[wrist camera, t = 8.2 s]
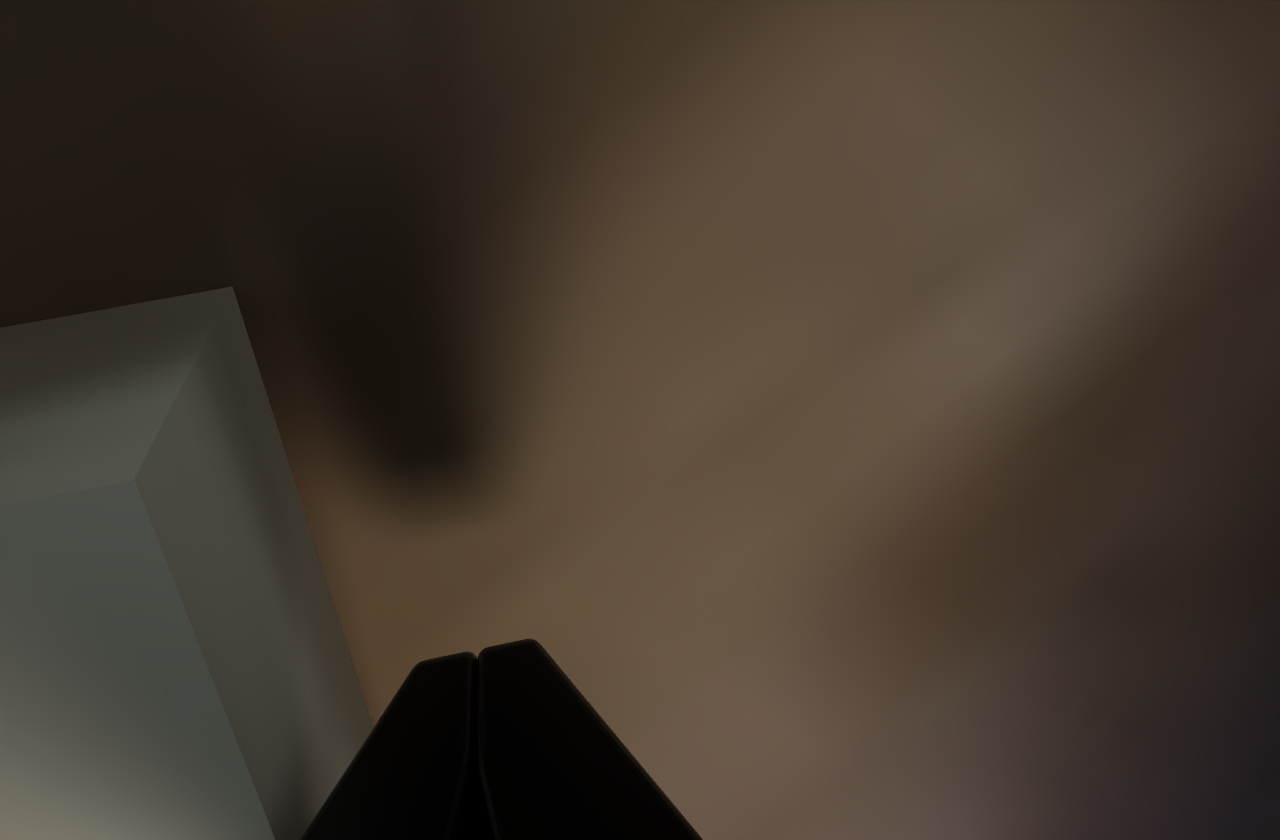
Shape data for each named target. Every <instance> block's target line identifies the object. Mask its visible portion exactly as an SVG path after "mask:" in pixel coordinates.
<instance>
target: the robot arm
mask: <svg viewBox="0 0 1280 840" xmlns="http://www.w3.org/2000/svg"><path fill="white" fill-rule="evenodd" d="M300 840H703V839H702V838H701V837H700V835H699V834H698V833H697V832H696V831H695V829H694V828H693V827H692V826H691V825H690V823H689V822H688V821H687V820H686V819H685V817H684V816H683V815H682V814H681V813H680V811H679V810H678V809H677V808H676V807H675V805H674V804H673V803H672V802H671V801H670V799H669V798H668V797H667V796H666V795H665V793H664V792H663V791H662V790H661V789H660V787H659V786H658V785H657V784H656V783H655V781H654V780H653V779H652V778H651V777H650V775H649V774H648V773H647V772H646V771H645V769H644V768H643V767H642V766H641V765H640V763H639V762H638V761H637V760H636V759H635V757H634V756H633V755H632V754H631V753H630V751H629V750H628V749H627V748H626V747H625V745H624V744H623V743H622V742H621V741H620V739H619V738H618V737H617V736H616V734H615V733H614V732H613V731H612V730H611V728H610V727H609V726H608V725H607V724H606V722H605V721H604V720H603V719H602V718H601V716H600V715H599V714H598V713H597V712H596V710H595V709H594V708H593V707H592V706H591V704H590V703H589V702H588V701H587V700H586V698H585V697H584V696H583V695H582V694H581V692H580V691H579V690H578V689H577V688H576V686H575V685H574V684H573V683H572V682H571V680H570V679H569V678H568V677H567V676H566V674H565V673H564V672H563V671H562V670H561V668H560V667H559V666H558V665H557V664H556V662H555V661H554V660H553V659H552V658H551V656H550V655H549V654H548V653H547V652H546V650H545V649H544V648H543V647H542V646H541V644H540V643H538V642H537V641H536V640H533V639H524V640H520V641H515V642H510V643H505V644H500V645H496V646H491V647H487V648H484V649H483V650H482V651H481V652H480V653H479V656H478V658H477V657H476V656H475V655H474V654H473V653H471V652H462V653H457V654H452V655H448V656H443V657H438V658H433V659H428V660H424V661H421V662H419V663H418V664H417V665H416V666H415V667H414V668H413V669H412V670H411V672H410V673H409V675H408V676H407V678H406V680H405V681H404V683H403V684H402V686H401V687H400V689H399V690H398V692H397V693H396V695H395V696H394V698H393V699H392V701H391V702H390V704H389V705H388V707H387V708H386V710H385V711H384V713H383V714H382V716H381V717H380V719H379V720H378V722H377V723H376V725H375V727H374V728H373V730H372V731H371V733H370V734H369V736H368V737H367V739H366V740H365V742H364V743H363V745H362V746H361V748H360V749H359V751H358V752H357V754H356V755H355V757H354V758H353V760H352V761H351V763H350V764H349V766H348V767H347V769H346V771H345V772H344V774H343V775H342V777H341V778H340V780H339V781H338V783H337V784H336V786H335V787H334V789H333V790H332V792H331V793H330V795H329V796H328V798H327V799H326V801H325V802H324V804H323V805H322V807H321V808H320V810H319V811H318V813H317V815H316V816H315V818H314V819H313V821H312V822H311V824H310V825H309V827H308V828H307V830H306V831H305V833H304V834H303V836H302V837H301V839H300Z"/></svg>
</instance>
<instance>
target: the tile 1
mask: <svg viewBox="0 0 1280 840" xmlns="http://www.w3.org/2000/svg"><path fill="white" fill-rule="evenodd" d="M372 730H373V726H372V723H371V720H370V717H369V713H368V710H367V707H366V704H365V701H364V698H363V695H362V691H361V688H360V685H359V682H358V679H357V676H356V673H355V669H354V666H353V663H352V660H351V657H350V654H349V651H348V648H347V644H346V641H345V638H344V635H343V632H342V629H341V626H340V622H339V619H338V616H337V613H336V610H335V607H334V604H333V600H332V597H331V594H330V591H329V588H328V585H327V582H326V578H325V575H324V572H323V569H322V566H321V563H320V560H319V556H318V553H317V550H316V547H315V544H314V541H313V538H312V534H311V531H310V528H309V525H308V522H307V519H306V516H305V512H304V509H303V506H302V503H301V500H300V497H299V494H298V490H297V487H296V484H295V481H294V478H293V475H292V472H291V469H290V465H289V462H288V459H287V456H286V453H285V450H284V447H283V443H282V440H281V437H280V434H279V431H278V428H277V425H276V421H275V418H274V415H273V412H272V409H271V406H270V403H269V399H268V396H267V393H266V390H265V387H264V384H263V381H262V377H261V374H260V371H259V368H258V365H257V362H256V359H255V355H254V352H253V349H252V346H251V343H250V340H249V337H248V333H247V330H246V327H245V324H244V321H243V318H242V315H241V311H240V308H239V305H238V302H237V299H236V296H235V293H234V290H233V286H232V287H226V288H221V289H215V290H210V291H204V292H198V293H193V294H187V295H182V296H176V297H170V298H165V299H159V300H153V301H148V302H142V303H137V304H131V305H125V306H120V307H114V308H109V309H103V310H97V311H92V312H86V313H81V314H75V315H69V316H64V317H58V318H52V319H47V320H41V321H36V322H30V323H24V324H19V325H13V326H8V327H2V328H0V840H300V839H301V837H302V836H303V834H304V833H305V831H306V830H307V828H308V827H309V825H310V824H311V822H312V821H313V819H314V818H315V816H316V815H317V813H318V811H319V810H320V808H321V807H322V805H323V804H324V802H325V801H326V799H327V798H328V796H329V795H330V793H331V792H332V790H333V789H334V787H335V786H336V784H337V783H338V781H339V780H340V778H341V777H342V775H343V774H344V772H345V771H346V769H347V767H348V766H349V764H350V763H351V761H352V760H353V758H354V757H355V755H356V754H357V752H358V751H359V749H360V748H361V746H362V745H363V743H364V742H365V740H366V739H367V737H368V736H369V734H370V733H371V731H372Z"/></svg>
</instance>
